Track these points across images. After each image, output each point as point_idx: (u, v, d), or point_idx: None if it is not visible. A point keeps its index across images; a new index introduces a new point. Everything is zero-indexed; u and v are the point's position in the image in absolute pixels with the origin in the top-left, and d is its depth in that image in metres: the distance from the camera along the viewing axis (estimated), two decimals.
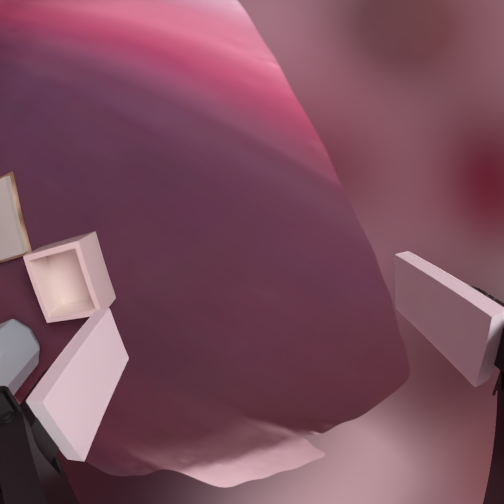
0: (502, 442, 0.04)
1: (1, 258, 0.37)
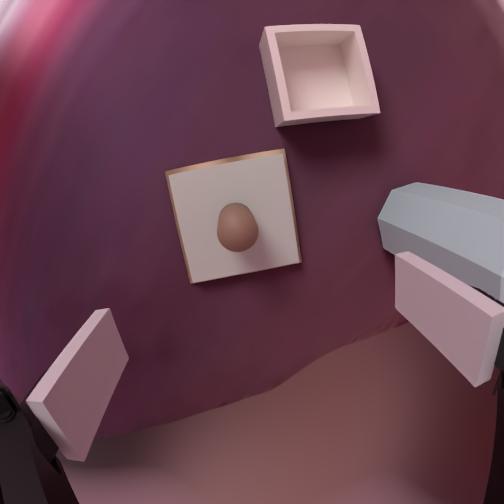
0: (502, 442, 0.04)
1: (288, 204, 0.33)
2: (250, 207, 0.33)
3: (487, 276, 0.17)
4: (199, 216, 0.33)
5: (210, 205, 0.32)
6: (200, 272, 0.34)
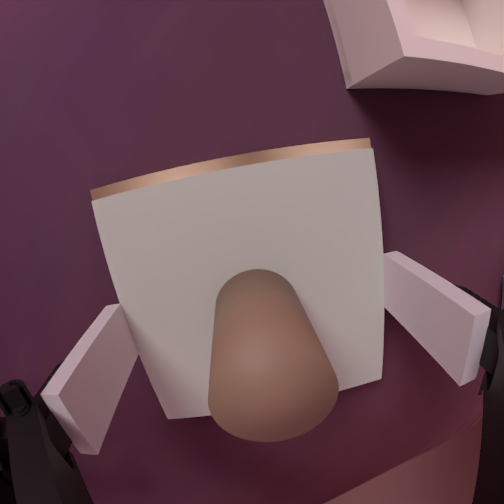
0: (489, 443, 0.05)
1: (379, 270, 0.14)
2: (293, 279, 0.13)
3: None
4: (169, 301, 0.13)
5: (193, 276, 0.13)
6: (181, 405, 0.15)
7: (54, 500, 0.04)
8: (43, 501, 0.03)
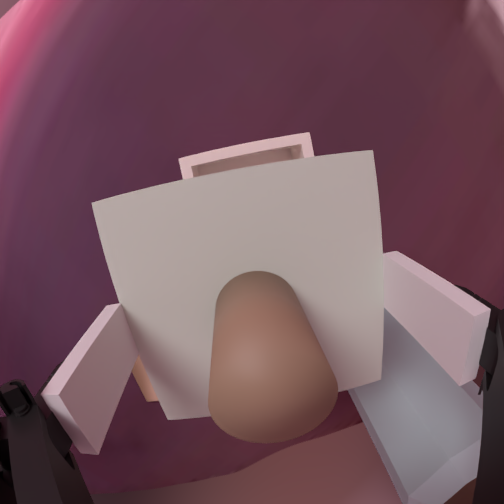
0: (489, 443, 0.05)
1: (378, 271, 0.14)
2: (293, 281, 0.13)
3: (401, 484, 0.15)
4: (169, 302, 0.13)
5: (193, 278, 0.13)
6: (182, 406, 0.15)
7: (54, 500, 0.04)
8: (43, 501, 0.03)
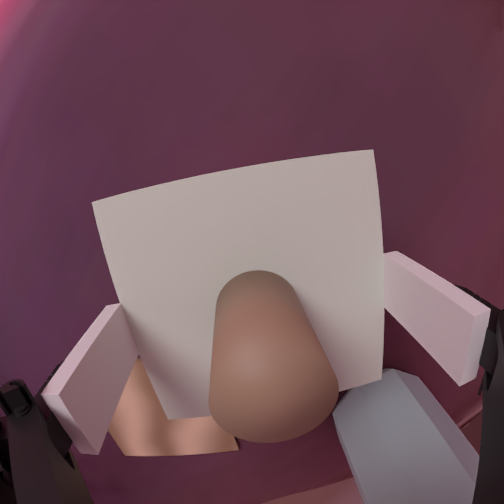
0: (489, 443, 0.05)
1: (379, 271, 0.14)
2: (293, 281, 0.13)
3: None
4: (169, 302, 0.13)
5: (194, 277, 0.13)
6: (182, 406, 0.15)
7: (54, 500, 0.04)
8: (43, 501, 0.04)
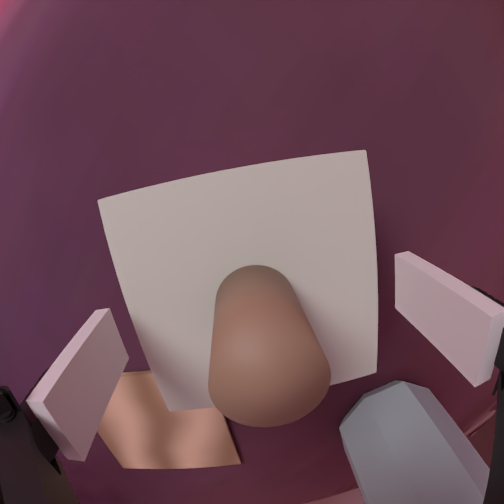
0: (502, 442, 0.04)
1: (372, 266, 0.14)
2: (289, 275, 0.14)
3: None
4: (171, 296, 0.14)
5: (195, 271, 0.14)
6: (182, 397, 0.16)
7: None
8: None
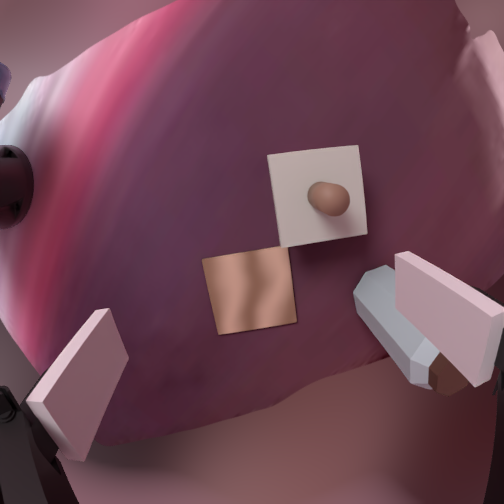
0: (502, 442, 0.04)
1: (361, 185, 0.39)
2: None
3: (404, 356, 0.31)
4: (291, 191, 0.39)
5: (301, 182, 0.39)
6: (289, 239, 0.41)
7: None
8: None
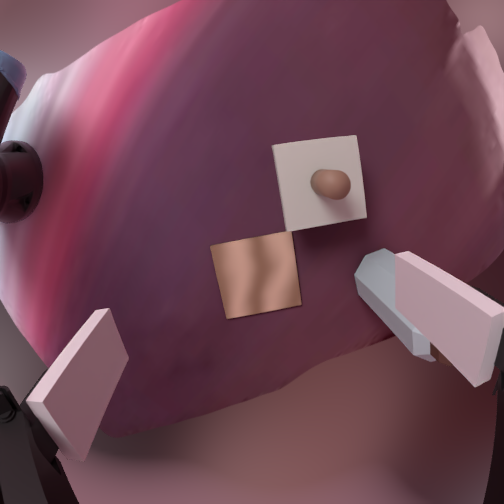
0: (502, 442, 0.04)
1: (360, 172, 0.42)
2: None
3: (406, 329, 0.34)
4: (295, 178, 0.41)
5: (304, 170, 0.41)
6: (294, 223, 0.43)
7: None
8: None
